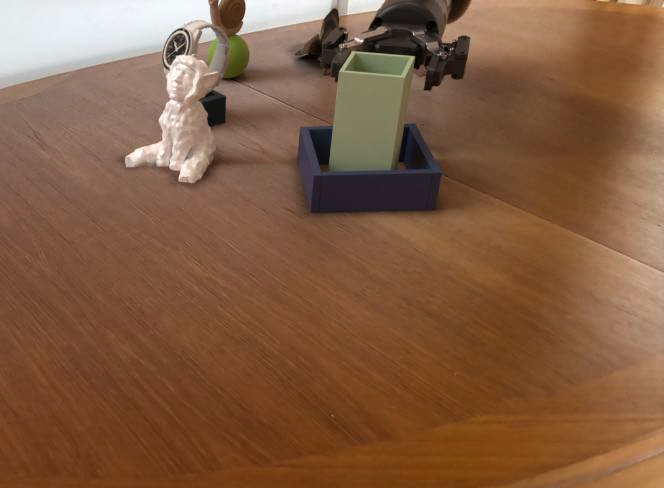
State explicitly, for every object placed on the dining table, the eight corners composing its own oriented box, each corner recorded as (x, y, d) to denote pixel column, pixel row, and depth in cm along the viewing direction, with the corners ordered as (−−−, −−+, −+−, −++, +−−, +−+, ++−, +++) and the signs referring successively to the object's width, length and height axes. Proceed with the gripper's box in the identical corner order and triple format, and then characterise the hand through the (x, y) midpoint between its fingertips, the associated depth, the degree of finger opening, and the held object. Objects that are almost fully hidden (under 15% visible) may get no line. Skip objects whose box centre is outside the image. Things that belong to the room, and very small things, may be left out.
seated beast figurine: (121, 172, 95) (115, 59, 88) (172, 146, 100) (171, 36, 93) (189, 196, 90) (190, 78, 83) (240, 167, 95) (244, 53, 87)
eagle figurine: (368, 63, 115) (349, 29, 121) (346, 20, 110) (328, -13, 116) (315, 96, 118) (299, 62, 124) (292, 56, 113) (276, 22, 119)
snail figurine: (193, 79, 117) (193, -19, 109) (227, 67, 120) (229, -29, 112) (223, 89, 113) (226, -11, 106) (257, 76, 116) (262, -22, 109)
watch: (155, 120, 106) (153, 24, 99) (210, 105, 109) (212, 11, 102) (181, 135, 103) (181, 36, 96) (238, 118, 106) (241, 22, 99)
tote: (407, 169, 93) (415, 123, 90) (432, 222, 84) (442, 172, 81) (296, 172, 94) (299, 126, 90) (309, 224, 85) (313, 175, 81)
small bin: (338, 170, 91) (352, 51, 84) (395, 177, 89) (415, 56, 82) (325, 194, 87) (339, 71, 79) (385, 202, 85) (405, 77, 78)
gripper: (470, 67, 97) (452, 122, 86) (339, 56, 102) (306, 107, 90) (484, -6, 92) (468, 42, 81) (347, -14, 97) (313, 30, 85)
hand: (383, 76), depth 85 cm, fingers open, 8 cm apart
